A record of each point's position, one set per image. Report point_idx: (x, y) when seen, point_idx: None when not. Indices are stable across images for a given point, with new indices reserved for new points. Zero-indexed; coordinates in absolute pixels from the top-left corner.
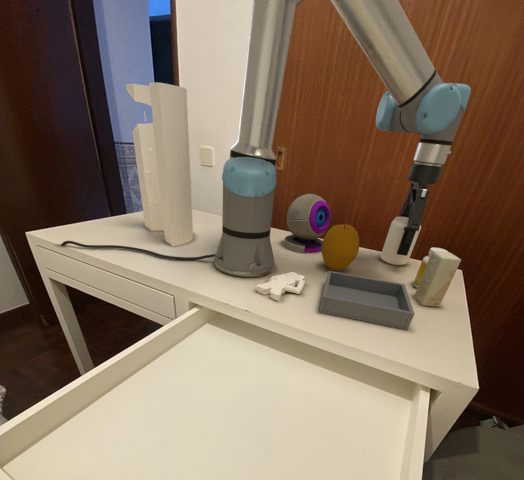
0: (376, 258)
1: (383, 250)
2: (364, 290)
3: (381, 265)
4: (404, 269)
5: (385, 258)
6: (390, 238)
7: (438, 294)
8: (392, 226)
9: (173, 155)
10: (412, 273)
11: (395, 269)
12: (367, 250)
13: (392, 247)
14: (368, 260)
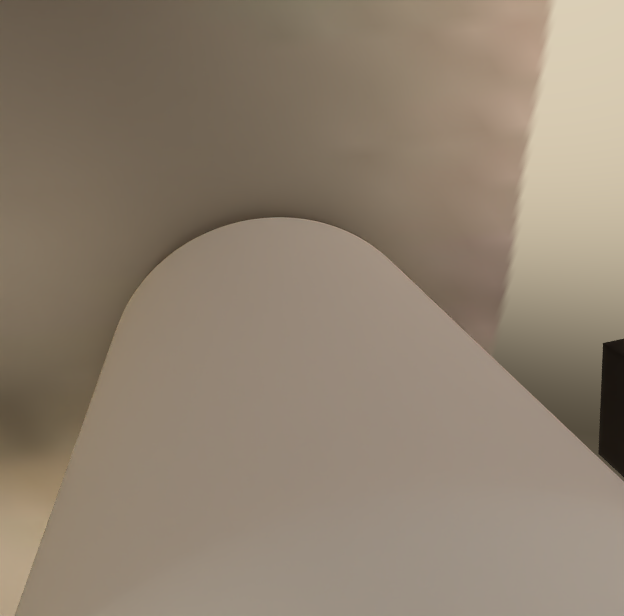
0: (247, 172)
1: (205, 260)
2: None
3: (8, 263)
4: None
5: (132, 297)
6: (115, 406)
7: None
8: (141, 535)
9: None
10: (24, 562)
11: (2, 417)
12: (519, 12)
13: (85, 416)
14: (74, 78)
